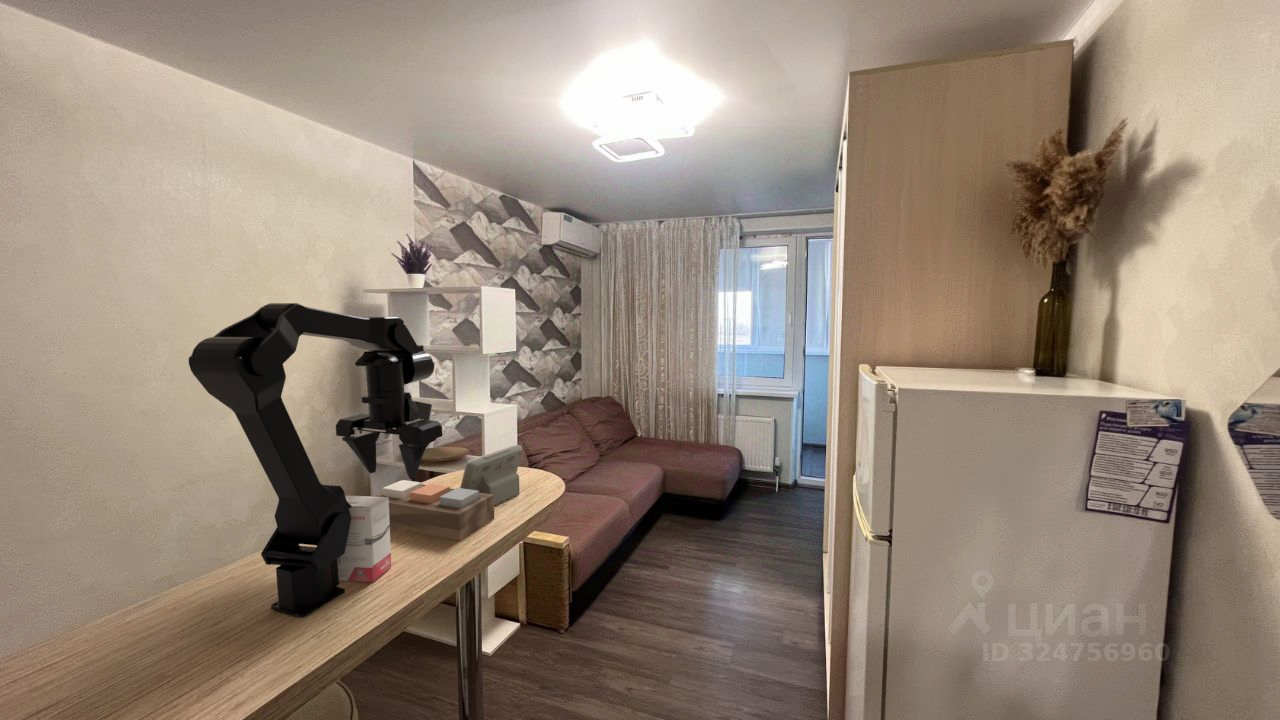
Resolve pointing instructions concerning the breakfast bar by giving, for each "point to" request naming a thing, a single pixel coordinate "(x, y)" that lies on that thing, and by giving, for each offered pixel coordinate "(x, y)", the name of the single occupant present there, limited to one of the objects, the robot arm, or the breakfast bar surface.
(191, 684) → the breakfast bar surface
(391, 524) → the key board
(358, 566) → the ink box
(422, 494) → the terracotta key
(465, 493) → the grey key
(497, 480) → the digital clock
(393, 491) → the cream key
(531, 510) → the breakfast bar surface
